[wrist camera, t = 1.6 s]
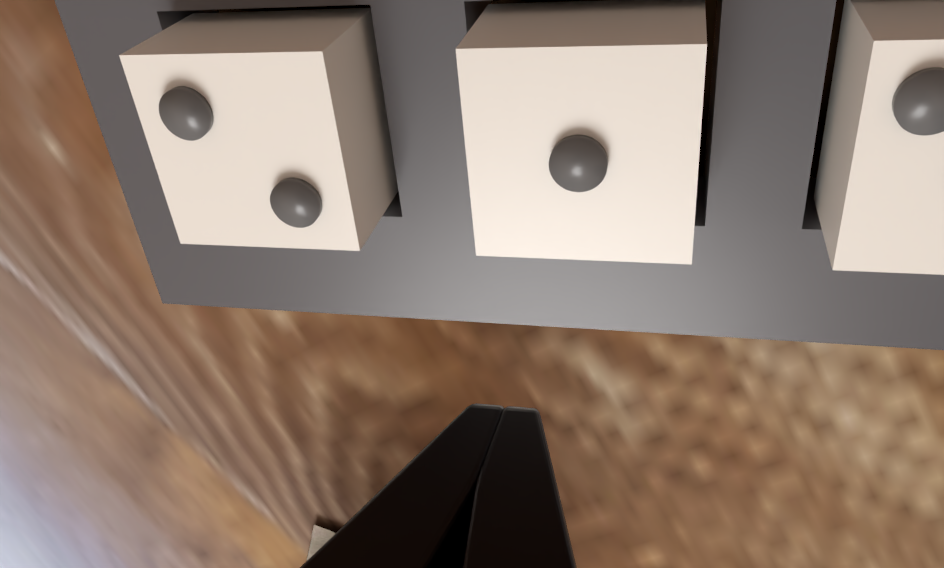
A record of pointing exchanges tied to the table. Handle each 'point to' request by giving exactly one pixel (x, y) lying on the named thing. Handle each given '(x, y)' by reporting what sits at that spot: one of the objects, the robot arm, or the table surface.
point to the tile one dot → (584, 128)
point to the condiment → (318, 539)
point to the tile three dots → (885, 140)
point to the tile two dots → (267, 127)
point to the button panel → (537, 279)
